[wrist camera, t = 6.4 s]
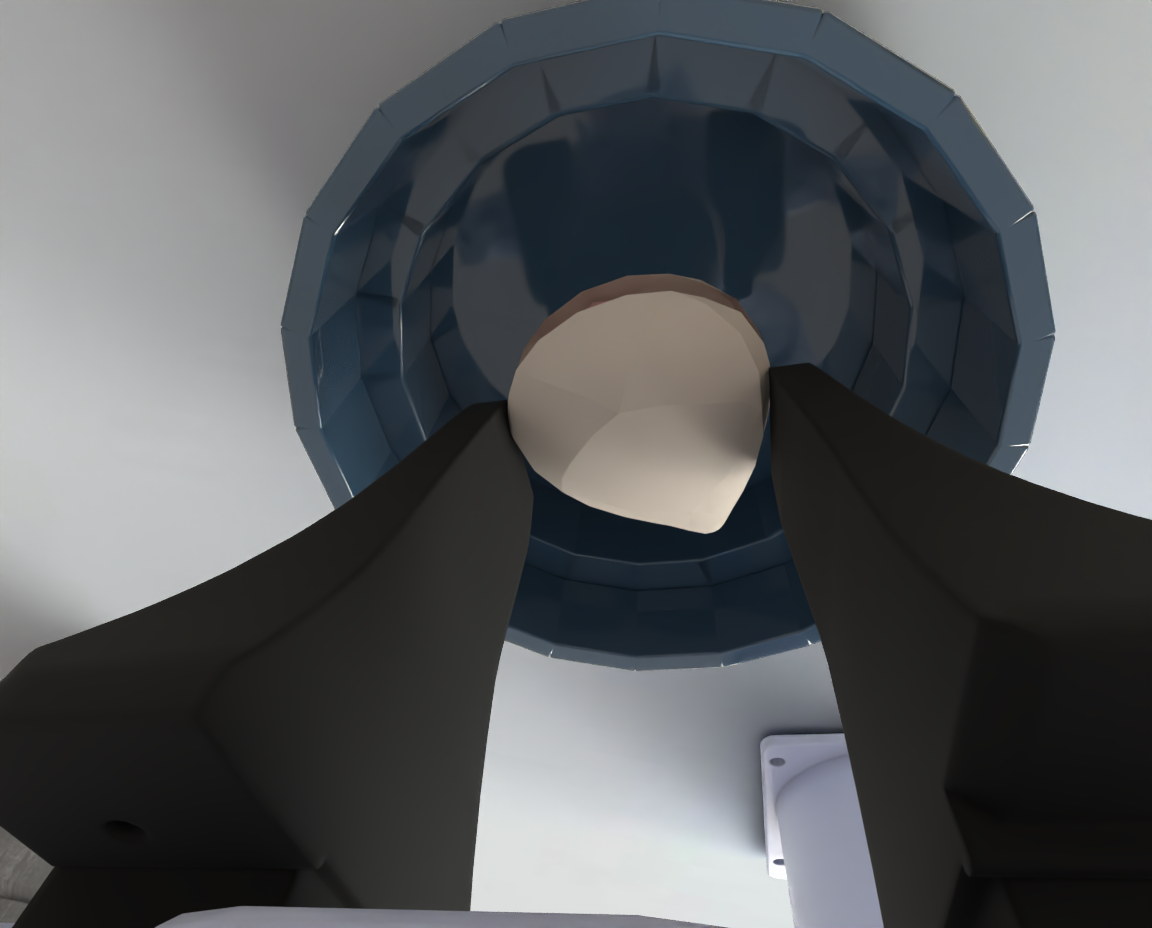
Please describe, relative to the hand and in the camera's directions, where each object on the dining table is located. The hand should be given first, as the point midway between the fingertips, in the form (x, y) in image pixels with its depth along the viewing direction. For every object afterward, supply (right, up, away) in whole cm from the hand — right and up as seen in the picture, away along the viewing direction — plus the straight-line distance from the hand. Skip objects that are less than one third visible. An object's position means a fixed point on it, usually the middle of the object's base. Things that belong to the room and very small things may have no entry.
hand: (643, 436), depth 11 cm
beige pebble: (0, +1, +1) cm, 2 cm away
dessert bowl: (0, +3, +4) cm, 4 cm away
